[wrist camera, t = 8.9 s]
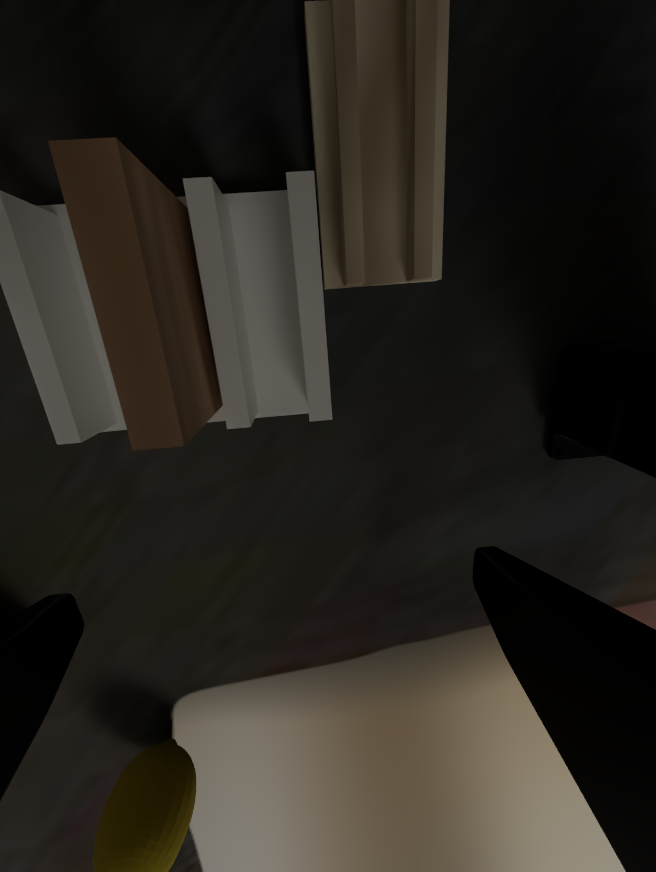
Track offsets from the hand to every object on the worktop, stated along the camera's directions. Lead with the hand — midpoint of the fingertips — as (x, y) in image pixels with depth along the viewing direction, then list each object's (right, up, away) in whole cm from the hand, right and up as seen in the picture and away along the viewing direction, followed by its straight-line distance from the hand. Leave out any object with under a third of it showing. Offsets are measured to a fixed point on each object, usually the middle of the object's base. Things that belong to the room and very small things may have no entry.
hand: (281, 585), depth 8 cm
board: (-5, +9, +9) cm, 13 cm away
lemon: (-11, -20, +19) cm, 29 cm away
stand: (+3, +16, +8) cm, 18 cm away
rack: (-5, +9, +9) cm, 14 cm away
